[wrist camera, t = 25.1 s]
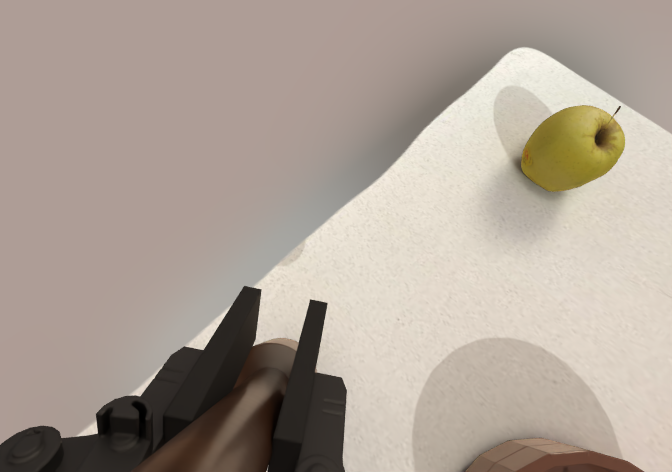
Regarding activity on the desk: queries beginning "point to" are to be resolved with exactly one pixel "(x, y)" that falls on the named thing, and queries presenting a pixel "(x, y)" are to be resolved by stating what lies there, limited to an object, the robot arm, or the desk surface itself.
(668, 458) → the desk surface
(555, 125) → the apple
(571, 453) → the bowl
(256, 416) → the brown pestle
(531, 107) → the desk surface
